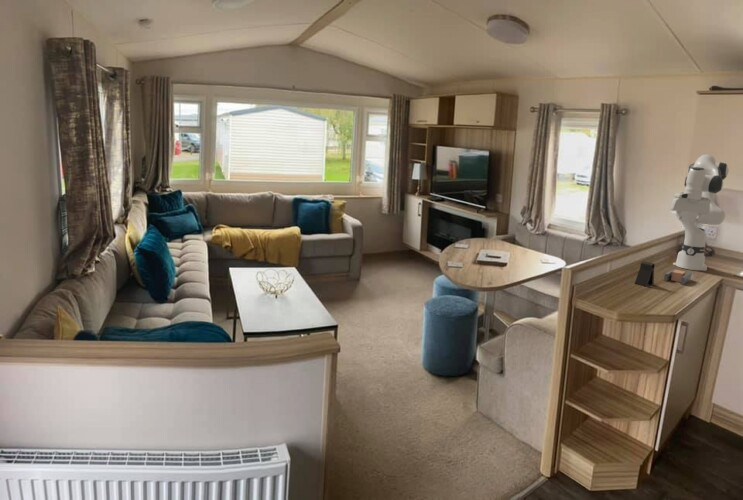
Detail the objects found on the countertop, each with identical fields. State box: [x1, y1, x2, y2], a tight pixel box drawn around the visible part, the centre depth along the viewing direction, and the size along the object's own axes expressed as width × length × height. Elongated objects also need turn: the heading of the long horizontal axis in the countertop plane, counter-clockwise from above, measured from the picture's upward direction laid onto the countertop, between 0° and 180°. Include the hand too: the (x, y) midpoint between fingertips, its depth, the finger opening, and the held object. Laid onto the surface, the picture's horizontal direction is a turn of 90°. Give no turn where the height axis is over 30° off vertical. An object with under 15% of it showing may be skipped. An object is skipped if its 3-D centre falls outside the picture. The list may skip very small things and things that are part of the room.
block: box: [670, 269, 687, 283], centre depth 314 cm, size 8×5×5 cm, turn 140°
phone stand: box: [634, 260, 655, 287], centre depth 299 cm, size 9×6×12 cm, turn 127°
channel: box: [663, 268, 693, 285], centre depth 313 cm, size 16×10×4 cm, turn 138°
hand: (687, 220), depth 318 cm, fingers open, 8 cm apart
